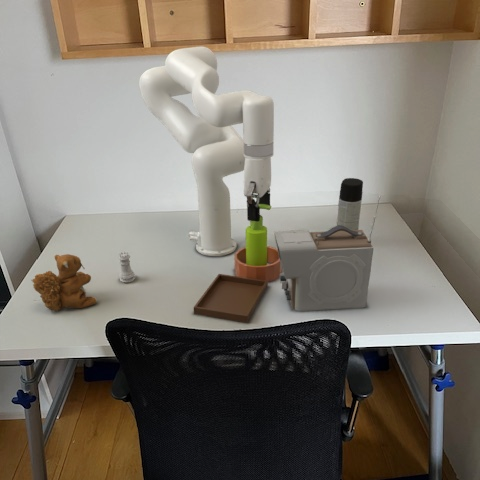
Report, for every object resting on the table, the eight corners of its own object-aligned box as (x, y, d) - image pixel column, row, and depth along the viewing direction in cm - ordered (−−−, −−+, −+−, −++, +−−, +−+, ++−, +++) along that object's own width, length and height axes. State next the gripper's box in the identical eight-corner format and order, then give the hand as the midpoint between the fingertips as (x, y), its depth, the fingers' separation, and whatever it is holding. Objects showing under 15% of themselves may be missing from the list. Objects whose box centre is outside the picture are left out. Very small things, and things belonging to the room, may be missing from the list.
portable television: (272, 291, 144) (274, 182, 127) (359, 286, 145) (372, 178, 129) (278, 315, 134) (281, 201, 117) (371, 310, 135) (387, 196, 119)
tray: (194, 313, 136) (193, 307, 134) (219, 279, 150) (218, 273, 149) (247, 322, 132) (247, 316, 130) (267, 287, 146) (267, 280, 145)
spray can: (359, 241, 169) (366, 179, 158) (353, 249, 164) (360, 186, 153) (338, 237, 171) (344, 176, 160) (332, 246, 166) (337, 183, 155)
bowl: (228, 279, 150) (228, 263, 147) (243, 258, 161) (243, 242, 158) (274, 285, 146) (275, 269, 144) (286, 263, 157) (287, 248, 154)
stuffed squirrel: (100, 303, 141) (91, 258, 133) (46, 320, 134) (34, 274, 127) (87, 287, 148) (78, 244, 140) (35, 303, 141) (23, 258, 134)
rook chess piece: (122, 284, 149) (118, 259, 144) (117, 278, 152) (113, 252, 147) (137, 281, 150) (134, 255, 146) (132, 274, 154) (128, 249, 149)
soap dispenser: (268, 277, 151) (269, 209, 139) (244, 275, 152) (243, 208, 141) (271, 267, 155) (272, 201, 144) (248, 265, 157) (247, 200, 145)
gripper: (254, 139, 142) (255, 201, 151) (233, 158, 128) (235, 224, 138) (281, 141, 140) (280, 203, 149) (263, 160, 126) (263, 227, 136)
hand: (259, 213), depth 144 cm, fingers open, 9 cm apart
